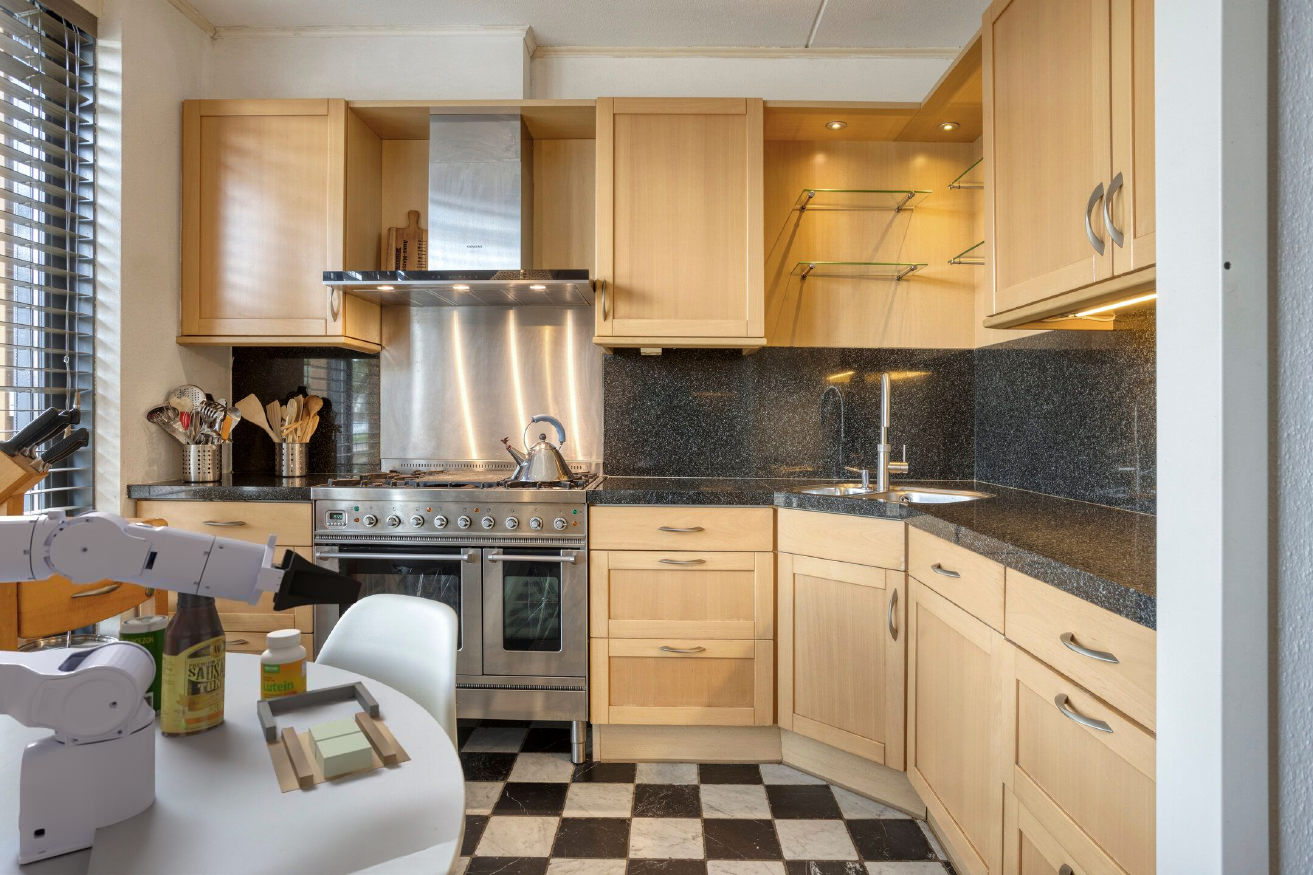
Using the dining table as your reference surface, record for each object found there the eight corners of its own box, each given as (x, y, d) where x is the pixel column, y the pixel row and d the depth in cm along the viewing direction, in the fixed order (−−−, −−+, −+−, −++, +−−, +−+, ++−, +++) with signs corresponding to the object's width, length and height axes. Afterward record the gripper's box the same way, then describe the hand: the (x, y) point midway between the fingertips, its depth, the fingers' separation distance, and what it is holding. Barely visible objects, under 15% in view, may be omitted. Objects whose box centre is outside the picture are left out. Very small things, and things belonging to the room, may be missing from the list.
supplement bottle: (255, 716, 89) (255, 639, 89) (266, 701, 94) (266, 629, 94) (301, 711, 90) (301, 636, 90) (310, 697, 95) (310, 626, 95)
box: (266, 754, 78) (266, 727, 78) (257, 724, 86) (257, 700, 86) (378, 728, 85) (378, 704, 85) (360, 703, 93) (360, 681, 93)
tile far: (315, 759, 73) (315, 740, 73) (308, 744, 77) (308, 726, 77) (361, 748, 76) (361, 730, 76) (352, 734, 79) (352, 716, 79)
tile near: (323, 778, 69) (323, 758, 69) (316, 761, 73) (316, 742, 73) (371, 766, 72) (371, 746, 72) (362, 750, 75) (362, 731, 75)
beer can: (172, 713, 90) (172, 620, 90) (119, 724, 86) (119, 627, 86) (168, 701, 94) (168, 612, 94) (118, 711, 90) (118, 619, 91)
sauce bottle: (192, 752, 78) (192, 575, 79) (146, 747, 80) (146, 573, 80) (238, 728, 85) (238, 565, 85) (195, 725, 86) (194, 564, 86)
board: (282, 808, 66) (282, 781, 66) (266, 754, 78) (265, 732, 78) (411, 773, 73) (411, 749, 73) (378, 728, 85) (378, 708, 85)
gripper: (218, 523, 62) (375, 554, 68) (222, 524, 75) (355, 550, 81) (191, 603, 60) (354, 627, 67) (200, 591, 73) (337, 612, 79)
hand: (353, 589), depth 74 cm, fingers open, 7 cm apart
